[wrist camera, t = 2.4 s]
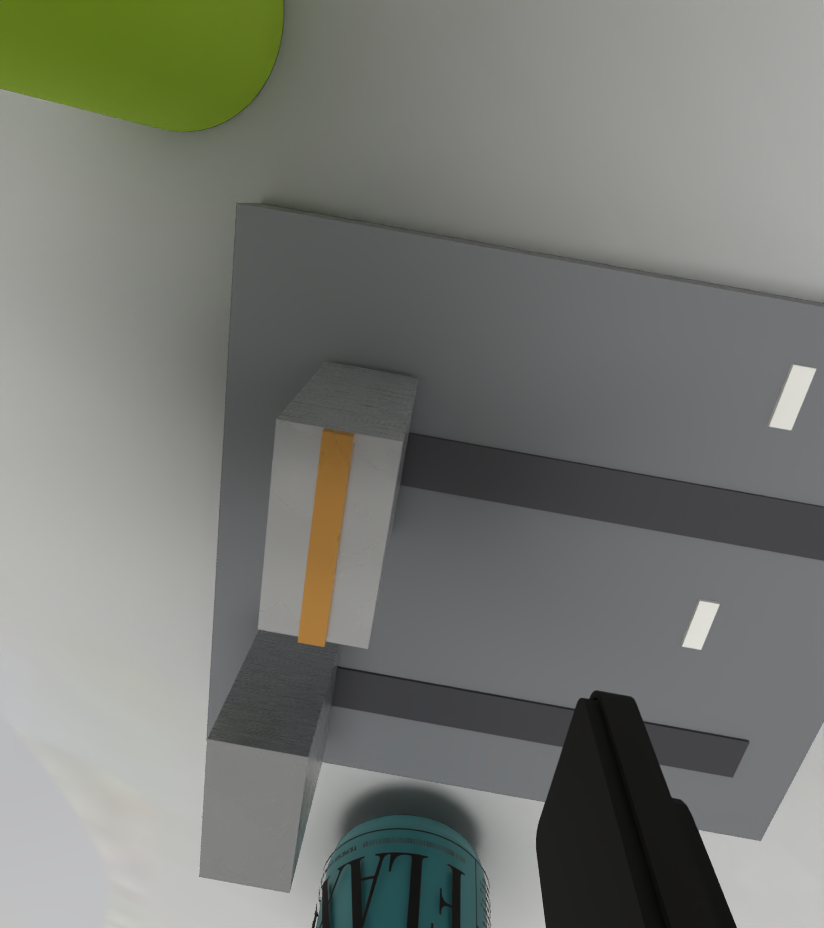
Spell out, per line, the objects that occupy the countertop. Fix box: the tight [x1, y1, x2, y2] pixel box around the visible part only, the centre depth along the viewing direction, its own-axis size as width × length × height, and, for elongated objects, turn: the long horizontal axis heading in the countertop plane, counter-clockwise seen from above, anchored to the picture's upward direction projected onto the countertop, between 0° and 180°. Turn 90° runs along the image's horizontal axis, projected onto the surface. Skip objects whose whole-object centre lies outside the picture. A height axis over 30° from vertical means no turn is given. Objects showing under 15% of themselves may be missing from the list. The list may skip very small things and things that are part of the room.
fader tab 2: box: [199, 630, 341, 893], centre depth 19 cm, size 5×2×5 cm, turn 171°
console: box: [207, 203, 824, 841], centre depth 20 cm, size 18×20×4 cm
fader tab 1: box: [258, 361, 418, 649], centre depth 16 cm, size 5×2×5 cm, turn 171°
